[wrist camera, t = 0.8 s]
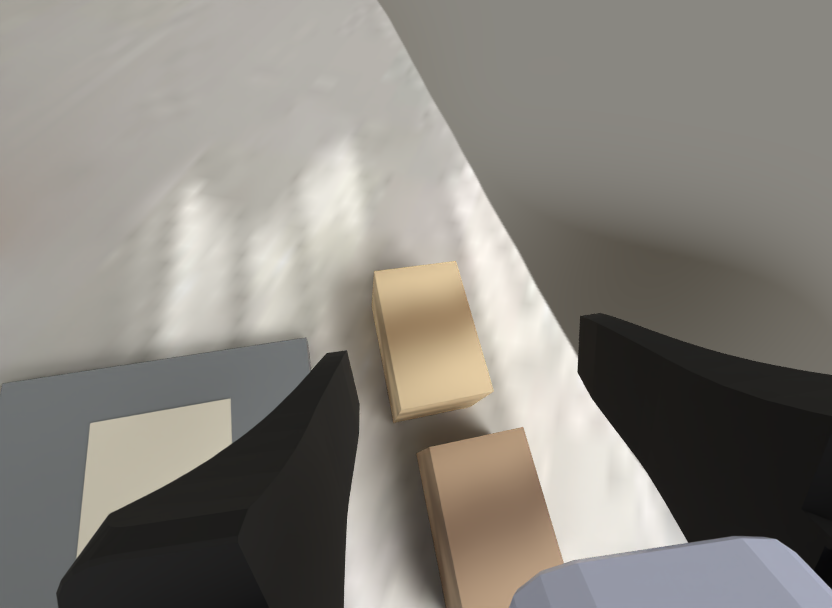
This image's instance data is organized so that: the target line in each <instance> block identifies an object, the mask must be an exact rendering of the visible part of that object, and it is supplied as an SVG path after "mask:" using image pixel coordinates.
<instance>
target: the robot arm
mask: <svg viewBox="0 0 832 608" xmlns="http://www.w3.org/2000/svg"><path fill="white" fill-rule="evenodd" d="M578 374H579V376H580V378H581V380H582V381H583V383H584V385H585V387H586V389H587V391H588V392H589V394H590V396H591V398H592V399H593V401H594V402H595V403H596V405H597V406H598V407H599V409H600V410H601V411H602V413H603V414H604V415H605V417H606V418H607V419H608V421H609V422H610V423H611V425H612V426H613V427H614V429H615V430H616V431H617V433H618V434H619V435H620V436H621V438H622V439H623V440H624V442H625V443H626V444H627V446H628V447H629V448H630V450H631V451H632V452H633V453H634V455H635V456H636V457H637V459H638V460H639V462H640V463H641V465H642V466H643V467H644V469H645V470H646V472H647V473H648V475H649V477H650V478H651V480H652V482H653V483H654V485H655V486H656V488H657V490H658V491H659V493H660V495H661V496H662V498H663V500H664V501H665V503H666V505H667V506H668V508H669V510H670V512H671V513H672V515H673V517H674V519H675V520H676V522H677V524H678V526H679V527H680V529H681V531H682V532H683V534H684V536H685V538H686V539H687V541H688V543H685V544H678V545H671V546H665V547H658V548H652V549H645V550H638V551H632V552H625V553H619V554H612V555H605V556H599V557H592V558H586V559H579V560H573V561H570V562H567V563H564V564H561V565H558V566H555V567H551V568H548V569H545V570H542V571H540V572H539V573H538V574H536V575H535V576H534V577H533V578H531V579H530V580H529V581H527V582H526V583H525V584H524V585H522V586H521V587H520V588H518V589H517V591H516V592H515V594H514V596H513V598H512V601H511V604H510V606H509V608H832V375H828V374H821V373H815V372H808V371H803V370H797V369H792V368H787V367H781V366H775V365H771V364H766V363H761V362H756V361H752V360H748V359H744V358H739V357H736V356H731V355H727V354H724V353H720V352H716V351H713V350H709V349H705V348H703V347H699V346H696V345H693V344H690V343H687V342H683V341H680V340H678V339H675V338H672V337H668V336H666V335H663V334H660V333H657V332H655V331H652V330H649V329H646V328H643V327H641V326H638V325H635V324H633V323H630V322H627V321H624V320H621V319H618V318H616V317H612V316H609V315H606V314H601V313H598V314H591V315H584V316H580V332H579V353H578ZM358 437H359V400H358V396H357V392H356V387H355V383H354V379H353V374H352V370H351V366H350V362H349V357H348V353H347V350H345V351H339V352H332V353H327V354H326V355H325V356H324V357H323V358H322V359H321V360H320V361H319V362H318V364H317V365H316V366H315V367H314V368H313V369H312V370H311V372H310V373H309V374H308V375H307V376H306V377H305V378H304V379H303V380H302V381H301V383H300V384H299V385H298V386H297V387H296V388H295V389H294V390H293V391H292V392H291V393H290V394H289V395H288V396H287V397H286V398H285V399H284V400H283V401H282V402H281V403H280V404H279V405H278V406H277V407H276V408H275V409H274V410H273V411H272V412H271V413H270V414H268V415H267V416H266V417H265V418H264V419H263V420H262V421H260V422H259V423H258V424H257V425H256V426H254V427H253V428H252V429H251V430H249V431H248V432H247V433H246V434H244V435H243V436H242V437H240V438H239V439H238V440H236V441H235V442H233V443H232V444H230V445H229V446H228V447H226V448H225V449H223V450H222V451H220V452H219V453H218V454H216V455H215V456H213V457H212V458H210V459H209V460H207V461H206V462H204V463H203V464H201V465H199V466H198V467H196V468H194V469H193V470H191V471H190V472H188V473H186V474H184V475H183V476H181V477H179V478H177V479H176V480H174V481H172V482H171V483H169V484H167V485H165V486H163V487H161V488H160V489H158V490H156V491H154V492H152V493H150V494H148V495H146V496H144V497H142V498H140V499H138V500H136V501H134V502H132V503H130V504H128V505H126V506H124V507H122V508H120V509H118V510H116V511H114V512H112V513H110V514H109V515H108V516H107V517H106V519H105V520H104V521H103V523H102V524H101V526H100V527H99V528H98V530H97V531H96V533H95V534H94V535H93V537H92V538H91V539H90V541H89V542H88V544H87V545H86V546H85V548H84V549H83V550H82V552H81V553H80V555H79V556H78V557H77V559H76V560H75V561H74V563H73V564H72V566H71V567H70V568H69V570H68V571H67V572H66V574H65V575H64V577H63V578H62V579H61V581H60V584H59V587H58V589H57V592H56V596H57V603H58V608H344V577H345V550H346V529H347V513H348V504H349V496H350V490H351V483H352V477H353V470H354V464H355V457H356V451H357V444H358Z"/></svg>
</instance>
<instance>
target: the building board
mask: <svg viewBox="0 0 832 608" xmlns="http://www.w3.org/2000/svg"><path fill="white" fill-rule="evenodd" d="M310 372H311V366H310V357H309V348H308V341H307V339H306V338H299V339H293V340H286V341H280V342H273V343H267V344H260V345H253V346H247V347H240V348H234V349H227V350H220V351H214V352H207V353H201V354H194V355H188V356H181V357H174V358H168V359H161V360H155V361H148V362H141V363H135V364H128V365H122V366H115V367H109V368H102V369H95V370H89V371H82V372H76V373H69V374H62V375H56V376H49V377H43V378H36V379H30V380H23V381H16V382H10V383H3V384H2V388H1V394H0V608H58V603H57V596H56V592H57V589H58V587H59V584H60V581H61V579H62V578H63V577H64V575H65V574H66V572H67V571H68V570H69V568H70V567H71V566H72V564H73V563H74V561H75V560H76V559H77V557H78V556H79V555H80V553H81V552H82V550H83V549H84V548H85V546H86V545H87V544H88V542H89V541H90V539H91V538H92V537H93V535H94V534H95V533H96V531H97V530H98V528H99V527H100V526H101V524H102V523H103V521H104V520H105V519H106V517H107V516H108V515H109V514H110V513H112V512H114V511H116V510H118V509H120V508H122V507H124V506H126V505H128V504H130V503H132V502H134V501H136V500H138V499H140V498H142V497H144V496H146V495H148V494H150V493H152V492H154V491H156V490H158V489H160V488H161V487H163V486H165V485H167V484H169V483H171V482H172V481H174V480H176V479H177V478H179V477H181V476H183V475H184V474H186V473H188V472H190V471H191V470H193V469H194V468H196V467H198V466H199V465H201V464H203V463H204V462H206V461H207V460H209V459H210V458H212V457H213V456H215V455H216V454H218V453H219V452H220V451H222V450H223V449H225V448H226V447H228V446H229V445H230V444H232V443H233V442H235V441H236V440H238V439H239V438H240V437H242V436H243V435H244V434H246V433H247V432H248V431H249V430H251V429H252V428H253V427H254V426H256V425H257V424H258V423H259V422H260V421H262V420H263V419H264V418H265V417H266V416H267V415H268V414H270V413H271V412H272V411H273V410H274V409H275V408H276V407H277V406H278V405H279V404H280V403H281V402H282V401H283V400H284V399H285V398H286V397H287V396H288V395H289V394H290V393H291V392H292V391H293V390H294V389H295V388H296V387H297V386H298V385H299V384H300V383H301V381H302V380H303V379H304V378H305V377H306V376H307V375H308V374H309V373H310Z"/></svg>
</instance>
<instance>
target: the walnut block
mask: <svg viewBox="0 0 832 608" xmlns="http://www.w3.org/2000/svg"><path fill="white" fill-rule="evenodd" d="M416 454H417V460H418V465H419V470H420V475H421V480H422V485H423V491H424V496H425V501H426V506H427V511H428V517H429V522H430V527H431V532H432V537H433V543H434V548H435V553H436V558H437V563H438V569H439V574H440V579H441V584H442V589H443V595H444V600H445V605H446V608H509V606H510V604H511V601H512V598H513V596H514V594H515V592H516V591H517V589H518V588H520V587H521V586H522V585H524V584H525V583H526V582H527V581H529V580H530V579H531V578H533V577H534V576H535V575H536V574H538V573H539V572H540V571H542V570H545V569H548V568H551V567H555V566H558V565H561V564H564V563H563V559H562V556H561V552H560V549H559V546H558V542H557V539H556V536H555V532H554V529H553V526H552V522H551V519H550V515H549V512H548V509H547V505H546V502H545V499H544V495H543V492H542V489H541V485H540V482H539V479H538V475H537V472H536V468H535V465H534V462H533V458H532V455H531V452H530V448H529V445H528V442H527V438H526V435H525V431H524V428H523V427H521V428H516V429H512V430H507V431H502V432H498V433H493V434H488V435H484V436H479V437H474V438H470V439H465V440H460V441H455V442H451V443H446V444H441V445H437V446H432V447H428V448H426V449H424V450H422V451H420V452H418V453H416Z"/></svg>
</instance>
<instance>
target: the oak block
mask: <svg viewBox="0 0 832 608" xmlns="http://www.w3.org/2000/svg"><path fill="white" fill-rule="evenodd" d="M372 311H373V316H374V321H375V327H376V332H377V337H378V343H379V348H380V353H381V359H382V364H383V369H384V375H385V380H386V385H387V391H388V396H389V401H390V407H391V412H392V417H393V423H396V422H400V421H405V420H410V419H415V418H420V417H424V416H429V415H434V414H439V413H444V412H448V411H453V410H458V409H463V408H468V407H471V406H472V405H474V404H475V403H477V402H478V401H480V400H481V399H483V398H484V397H486V396H487V395H489V394H490V393H492V392H493V391H494V390H493V387H492V383H491V380H490V377H489V373H488V370H487V366H486V363H485V359H484V356H483V352H482V349H481V346H480V342H479V339H478V335H477V332H476V328H475V325H474V321H473V318H472V315H471V311H470V308H469V304H468V301H467V297H466V294H465V290H464V287H463V284H462V280H461V277H460V273H459V270H458V266H457V263H456V261H452V262H444V263H436V264H428V265H420V266H412V267H404V268H396V269H388V270H380V271H374V280H373V292H372Z"/></svg>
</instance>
